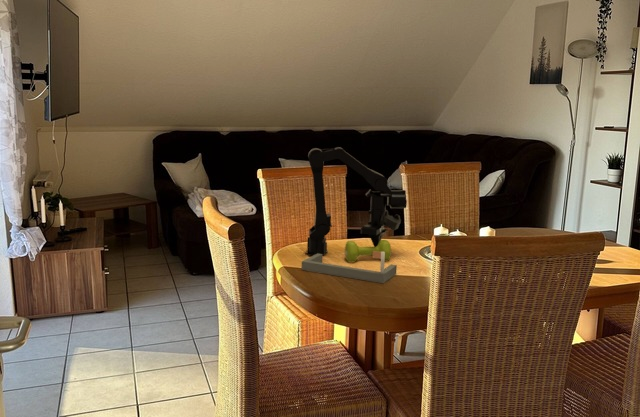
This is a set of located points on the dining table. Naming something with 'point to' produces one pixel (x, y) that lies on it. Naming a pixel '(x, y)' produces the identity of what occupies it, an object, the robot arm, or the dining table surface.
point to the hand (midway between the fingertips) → (376, 248)
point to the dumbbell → (366, 250)
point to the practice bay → (350, 269)
